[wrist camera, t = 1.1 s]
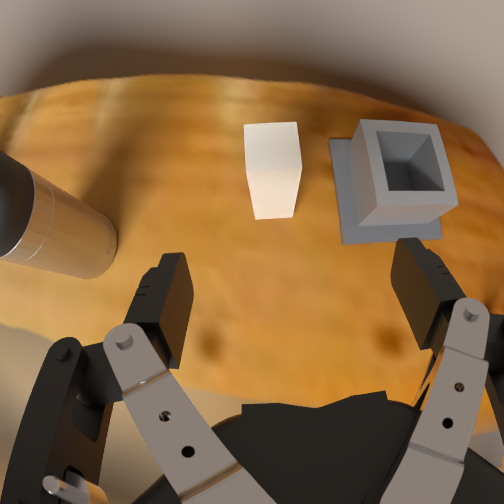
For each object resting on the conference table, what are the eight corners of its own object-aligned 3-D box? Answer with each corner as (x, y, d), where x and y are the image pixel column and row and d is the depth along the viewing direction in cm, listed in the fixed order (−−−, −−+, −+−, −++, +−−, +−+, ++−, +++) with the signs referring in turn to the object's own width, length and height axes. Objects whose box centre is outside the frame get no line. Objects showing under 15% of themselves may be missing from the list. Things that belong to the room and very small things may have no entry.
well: (341, 244, 37) (361, 226, 29) (328, 142, 40) (339, 104, 31) (439, 239, 37) (475, 222, 28) (419, 144, 39) (445, 112, 30)
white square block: (255, 219, 39) (245, 171, 25) (253, 185, 39) (243, 124, 26) (292, 217, 38) (302, 168, 25) (289, 183, 39) (296, 121, 25)
